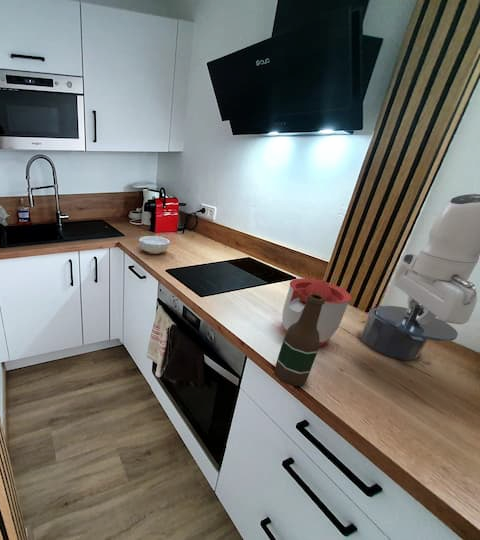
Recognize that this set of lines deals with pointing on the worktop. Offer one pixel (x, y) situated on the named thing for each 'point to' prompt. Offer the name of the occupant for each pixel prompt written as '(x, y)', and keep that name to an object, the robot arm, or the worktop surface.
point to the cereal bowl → (154, 244)
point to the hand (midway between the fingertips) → (415, 319)
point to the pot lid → (416, 323)
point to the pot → (390, 339)
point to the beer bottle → (300, 345)
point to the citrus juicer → (330, 310)
